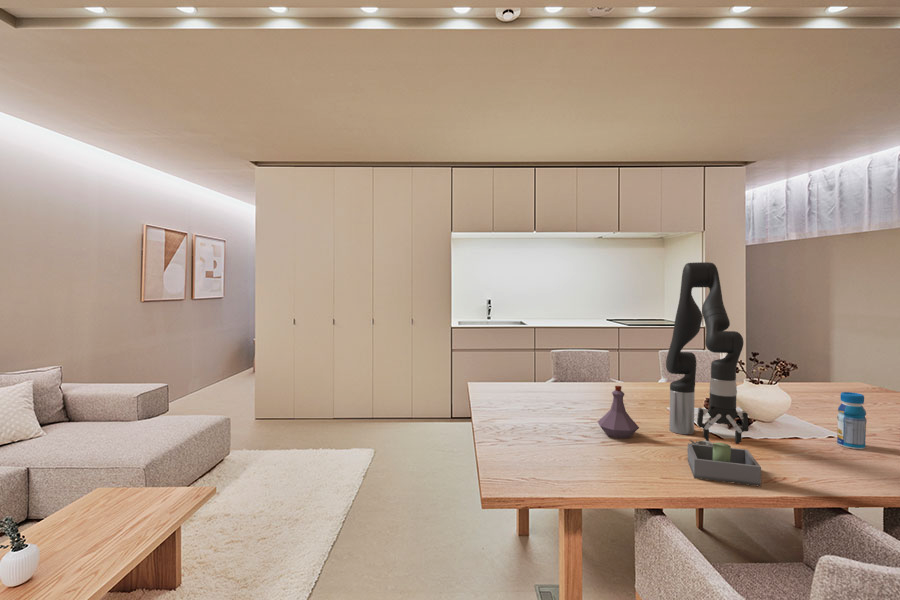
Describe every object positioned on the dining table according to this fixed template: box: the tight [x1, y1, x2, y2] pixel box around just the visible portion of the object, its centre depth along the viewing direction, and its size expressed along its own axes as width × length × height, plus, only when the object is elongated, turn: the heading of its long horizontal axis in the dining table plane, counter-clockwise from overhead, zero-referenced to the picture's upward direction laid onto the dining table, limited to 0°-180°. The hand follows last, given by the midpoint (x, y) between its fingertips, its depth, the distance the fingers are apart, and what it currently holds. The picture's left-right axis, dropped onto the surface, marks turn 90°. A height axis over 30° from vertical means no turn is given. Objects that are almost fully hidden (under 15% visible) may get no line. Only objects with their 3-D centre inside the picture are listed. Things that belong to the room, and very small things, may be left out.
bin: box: [687, 442, 762, 487], centre depth 151 cm, size 16×18×6 cm
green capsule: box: [712, 442, 732, 462], centre depth 151 cm, size 5×5×8 cm
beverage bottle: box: [836, 391, 867, 450], centre depth 175 cm, size 8×8×20 cm
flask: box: [597, 385, 640, 440], centre depth 189 cm, size 16×16×20 cm
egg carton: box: [689, 439, 714, 446], centre depth 169 cm, size 11×8×4 cm
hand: (721, 441), depth 151 cm, fingers open, 8 cm apart
